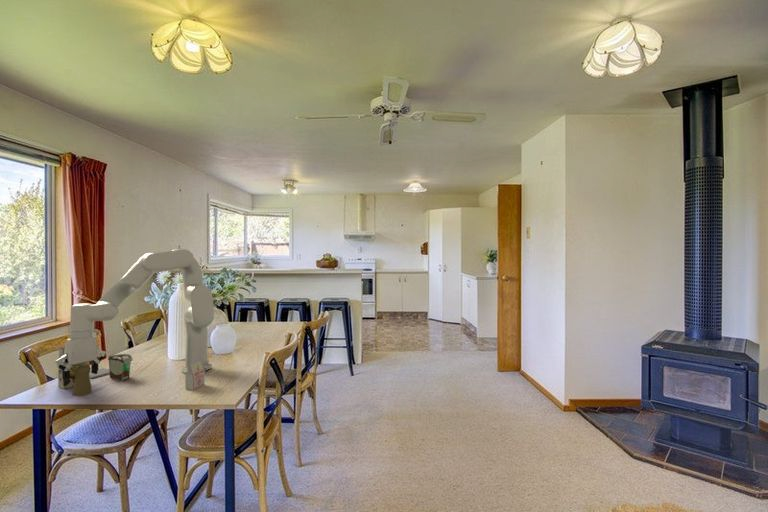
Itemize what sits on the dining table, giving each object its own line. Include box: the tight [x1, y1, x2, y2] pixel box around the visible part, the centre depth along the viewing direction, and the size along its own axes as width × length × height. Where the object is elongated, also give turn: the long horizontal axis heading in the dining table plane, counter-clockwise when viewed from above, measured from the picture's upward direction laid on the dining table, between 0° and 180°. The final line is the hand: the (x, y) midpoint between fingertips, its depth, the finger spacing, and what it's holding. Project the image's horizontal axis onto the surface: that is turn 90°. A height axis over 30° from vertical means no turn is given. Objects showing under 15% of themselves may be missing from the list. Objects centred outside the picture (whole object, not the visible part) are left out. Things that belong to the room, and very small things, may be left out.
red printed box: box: [184, 361, 206, 391], centre depth 155 cm, size 4×7×10 cm, turn 166°
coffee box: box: [57, 347, 91, 390], centre depth 157 cm, size 9×6×16 cm
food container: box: [107, 353, 133, 382], centre depth 165 cm, size 12×6×10 cm, turn 65°
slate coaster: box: [89, 367, 110, 380], centre depth 170 cm, size 10×10×1 cm
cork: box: [72, 365, 92, 397], centre depth 147 cm, size 6×6×11 cm
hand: (80, 376), depth 147 cm, fingers open, 9 cm apart
